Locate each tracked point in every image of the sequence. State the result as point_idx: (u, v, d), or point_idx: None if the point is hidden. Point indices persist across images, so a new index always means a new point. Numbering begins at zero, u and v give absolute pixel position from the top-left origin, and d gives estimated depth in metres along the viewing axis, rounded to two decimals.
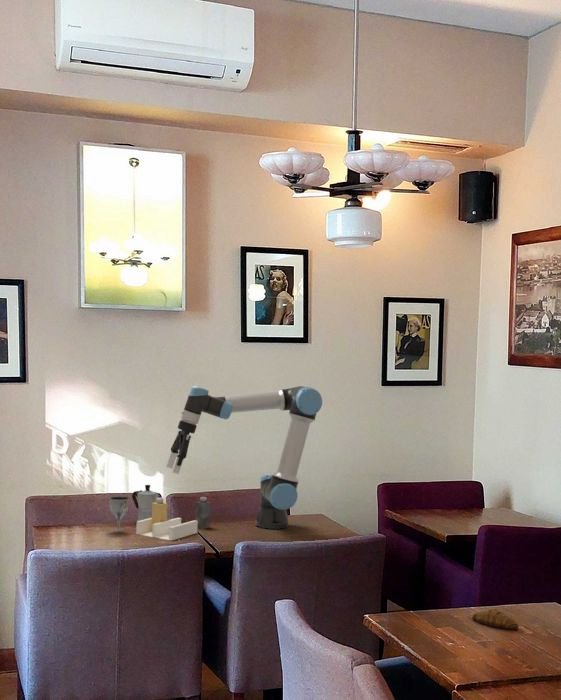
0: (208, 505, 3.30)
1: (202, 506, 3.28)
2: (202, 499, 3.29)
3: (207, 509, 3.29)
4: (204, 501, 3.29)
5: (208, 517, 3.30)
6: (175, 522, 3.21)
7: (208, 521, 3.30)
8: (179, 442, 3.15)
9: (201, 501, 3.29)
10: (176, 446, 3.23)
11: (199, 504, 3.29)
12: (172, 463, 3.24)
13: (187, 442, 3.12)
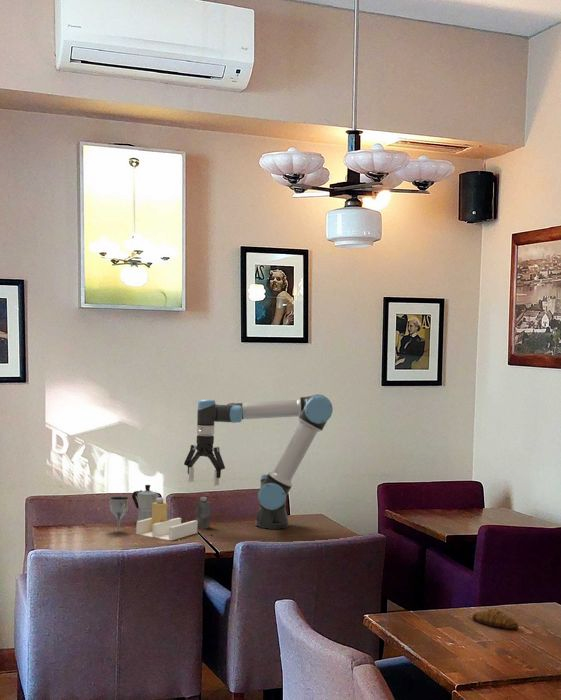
0: (208, 505, 3.30)
1: (202, 506, 3.28)
2: (202, 499, 3.29)
3: (207, 509, 3.29)
4: (204, 501, 3.29)
5: (208, 517, 3.30)
6: (175, 522, 3.21)
7: (208, 521, 3.30)
8: (208, 456, 3.28)
9: (201, 501, 3.29)
10: (194, 460, 3.33)
11: (199, 504, 3.29)
12: (192, 476, 3.34)
13: (219, 454, 3.27)
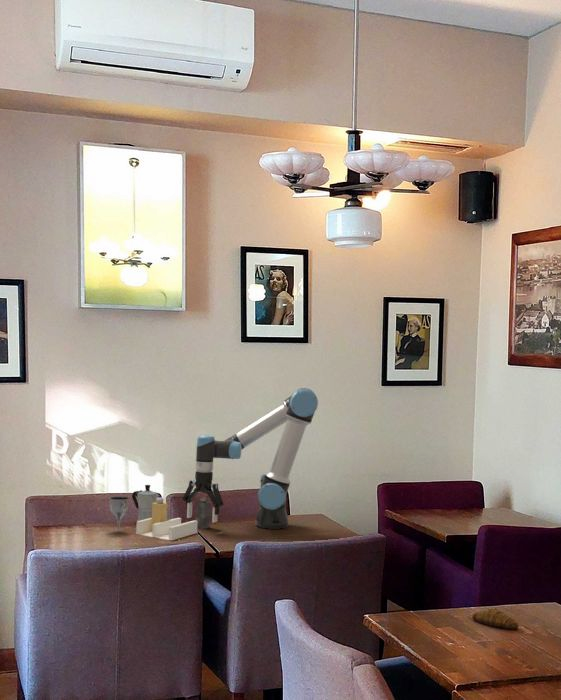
0: (208, 505, 3.30)
1: (202, 506, 3.28)
2: (202, 499, 3.29)
3: (207, 509, 3.29)
4: (204, 501, 3.29)
5: (208, 517, 3.30)
6: (175, 522, 3.21)
7: (208, 521, 3.30)
8: (206, 493, 3.27)
9: (201, 501, 3.29)
10: (193, 496, 3.32)
11: (199, 504, 3.29)
12: (191, 512, 3.34)
13: (217, 490, 3.27)
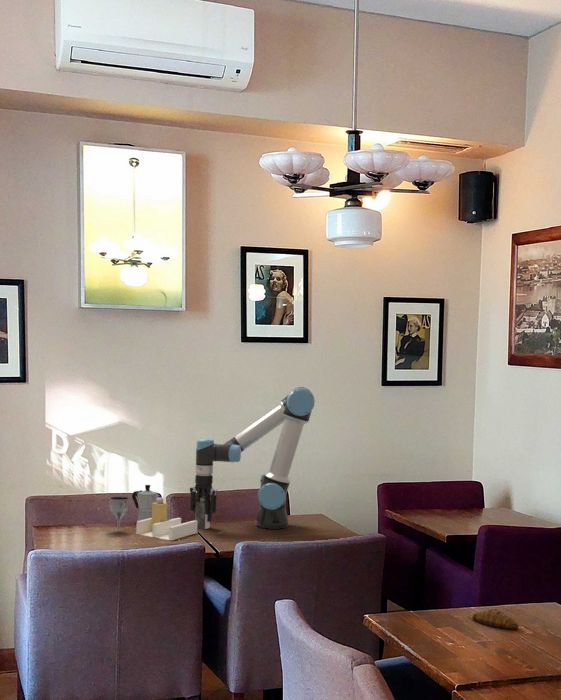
0: None
1: (202, 506, 3.28)
2: (202, 499, 3.29)
3: None
4: (204, 501, 3.29)
5: None
6: (175, 522, 3.21)
7: None
8: (204, 497, 3.28)
9: (201, 501, 3.29)
10: None
11: (199, 504, 3.29)
12: None
13: (215, 497, 3.28)
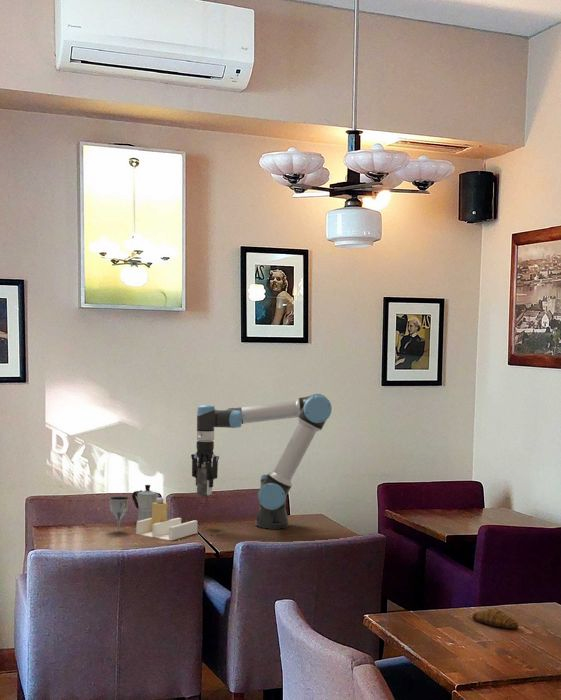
0: None
1: (204, 472, 3.28)
2: (203, 465, 3.29)
3: None
4: (206, 467, 3.29)
5: None
6: (175, 522, 3.21)
7: None
8: (205, 463, 3.28)
9: (203, 467, 3.29)
10: None
11: (201, 470, 3.29)
12: None
13: (216, 463, 3.28)
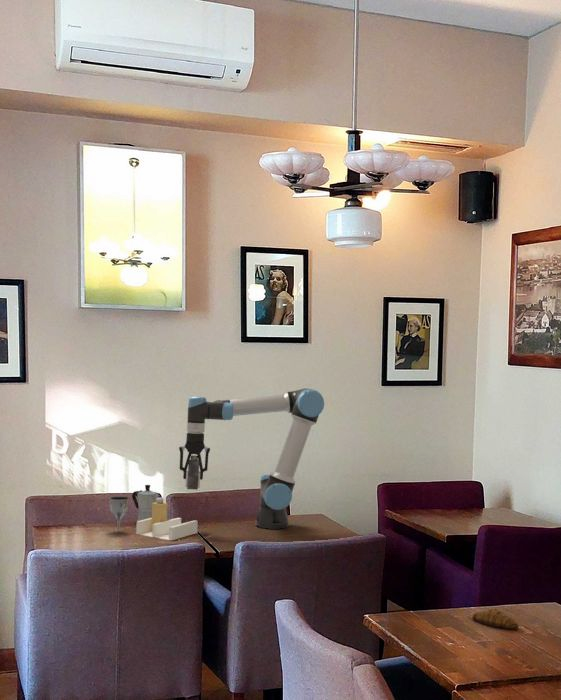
0: None
1: (196, 464, 3.23)
2: (195, 457, 3.24)
3: None
4: (197, 459, 3.25)
5: None
6: (175, 522, 3.21)
7: None
8: (198, 455, 3.24)
9: (194, 459, 3.24)
10: (188, 461, 3.25)
11: (193, 462, 3.23)
12: None
13: None
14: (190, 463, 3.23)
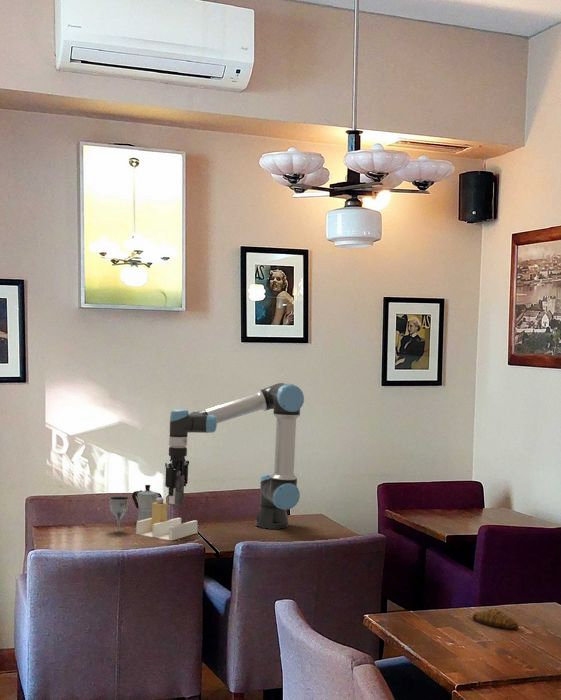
0: None
1: (182, 479, 3.15)
2: (180, 472, 3.15)
3: None
4: None
5: None
6: (175, 522, 3.21)
7: None
8: (182, 469, 3.16)
9: (179, 474, 3.15)
10: None
11: (180, 477, 3.14)
12: None
13: None
14: (178, 478, 3.13)
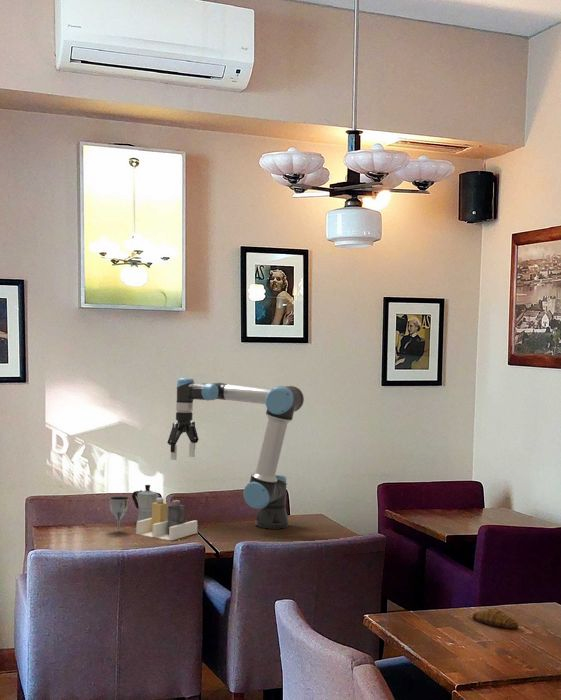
0: None
1: (182, 509, 3.15)
2: (179, 502, 3.15)
3: None
4: None
5: None
6: None
7: None
8: (190, 431, 3.49)
9: (179, 504, 3.15)
10: None
11: (179, 508, 3.14)
12: None
13: None
14: (178, 509, 3.13)
